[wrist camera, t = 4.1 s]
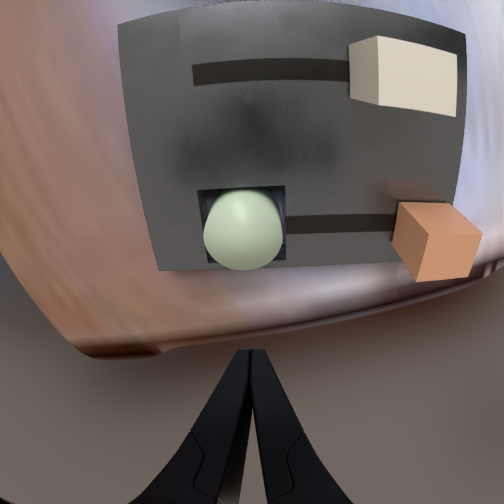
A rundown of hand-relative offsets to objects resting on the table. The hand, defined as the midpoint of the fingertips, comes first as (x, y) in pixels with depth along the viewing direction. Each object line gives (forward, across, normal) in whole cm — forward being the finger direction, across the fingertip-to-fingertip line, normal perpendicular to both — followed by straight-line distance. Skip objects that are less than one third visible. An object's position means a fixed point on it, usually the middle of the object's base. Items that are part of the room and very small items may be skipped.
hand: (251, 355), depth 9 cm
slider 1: (+10, -7, -9) cm, 15 cm away
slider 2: (+10, -11, +1) cm, 14 cm away
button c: (+11, +1, 0) cm, 11 cm away
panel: (+12, -3, -4) cm, 13 cm away
